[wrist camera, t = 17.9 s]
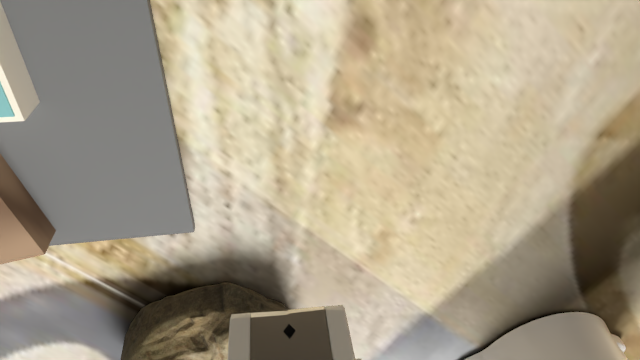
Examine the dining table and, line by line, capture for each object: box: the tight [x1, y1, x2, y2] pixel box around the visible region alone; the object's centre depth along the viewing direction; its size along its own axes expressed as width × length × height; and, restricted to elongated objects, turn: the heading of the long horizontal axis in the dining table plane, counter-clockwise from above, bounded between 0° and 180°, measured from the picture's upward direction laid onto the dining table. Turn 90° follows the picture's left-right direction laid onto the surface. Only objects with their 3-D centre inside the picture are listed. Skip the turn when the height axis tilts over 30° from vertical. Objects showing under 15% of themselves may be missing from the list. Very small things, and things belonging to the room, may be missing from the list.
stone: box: [121, 282, 288, 360], centre depth 34 cm, size 13×13×5 cm
